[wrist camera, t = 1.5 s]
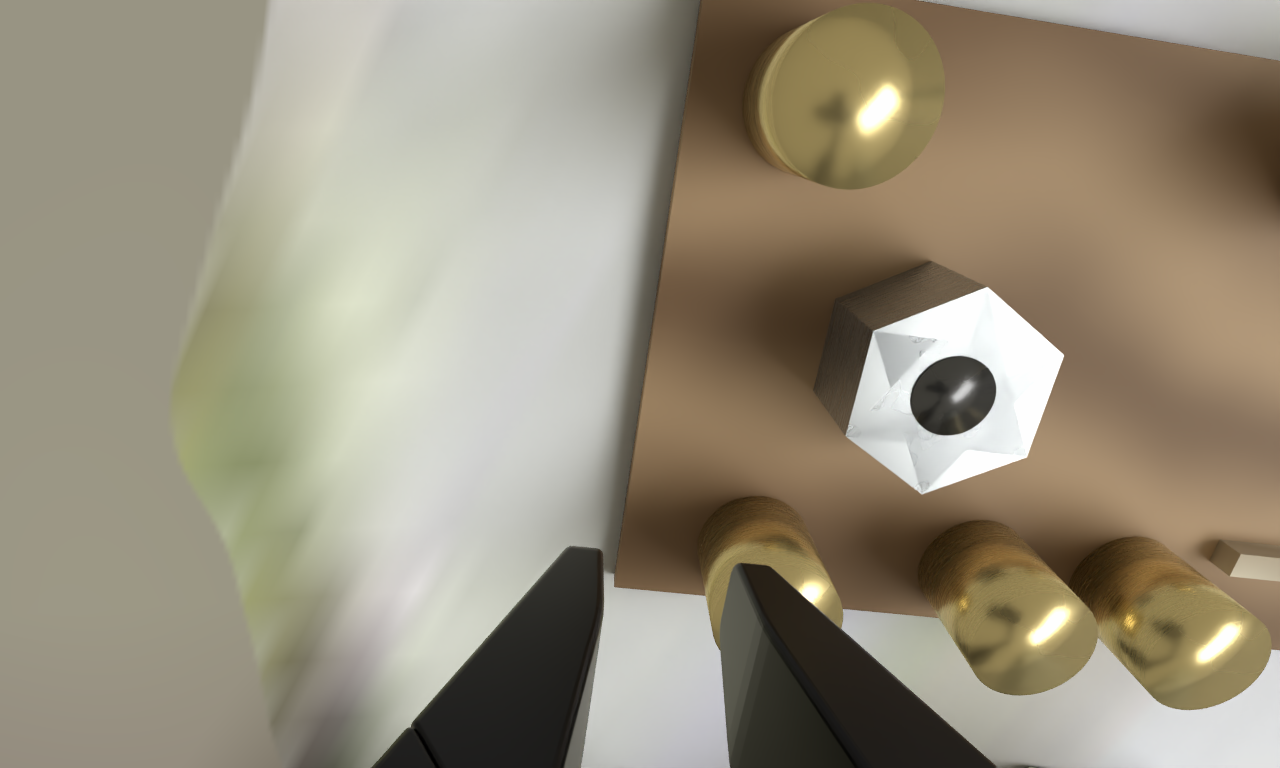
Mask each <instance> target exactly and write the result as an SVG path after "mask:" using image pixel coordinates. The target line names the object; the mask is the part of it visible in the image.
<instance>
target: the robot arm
mask: <svg viewBox="0 0 1280 768" xmlns="http://www.w3.org/2000/svg"><path fill="white" fill-rule="evenodd" d="M603 611H604V578H603V553H602V551H601V550H600V549H597V548H587V547H577V546H569V547H567V548H566V549H565V550H564V551H563V552H562V553H561V555H560V556H559V557H558V558H557V559H556V560H555V561H554V562H553V564H552V565H551V566H550V567H549V568H548V569H547V570H546V572H545V573H544V574H543V575H542V576H541V577H540V578H539V579H538V581H537V582H536V583H535V584H534V585H533V586H532V587H531V589H530V590H529V591H528V592H527V593H526V594H525V595H524V596H523V598H522V599H521V600H520V601H519V602H518V603H517V604H516V605H515V607H514V608H513V609H512V610H511V611H510V612H509V613H508V615H507V616H506V617H505V618H504V619H503V620H502V621H501V622H500V624H499V625H498V626H497V627H496V628H495V629H494V630H493V632H492V633H491V634H490V635H489V636H488V637H487V638H486V639H485V641H484V642H483V643H482V644H481V645H480V646H479V647H478V649H477V650H476V651H475V652H474V653H473V654H472V655H471V656H470V658H469V659H468V660H467V661H466V662H465V663H464V664H463V666H462V667H461V668H460V669H459V670H458V671H457V672H456V673H455V675H454V676H453V677H452V678H451V679H450V680H449V681H448V683H447V684H446V685H445V686H444V687H443V688H442V689H441V690H440V692H439V693H438V694H437V695H436V696H435V697H434V698H433V700H432V701H431V702H430V703H429V704H428V705H427V706H426V707H425V709H424V710H423V711H422V712H421V713H420V714H419V715H418V717H417V718H416V719H415V720H414V721H413V722H412V724H411V727H410V728H407V729H406V730H405V731H404V732H403V733H402V734H401V735H400V736H399V737H398V739H397V740H396V741H395V742H394V743H393V744H392V745H391V747H390V748H389V749H388V750H387V751H386V752H385V753H384V755H383V756H382V757H381V758H380V759H379V760H378V761H377V762H376V763H375V764H374V765H373V766H372V768H581V763H582V757H583V750H584V744H585V737H586V730H587V723H588V716H589V709H590V702H591V696H592V689H593V682H594V675H595V668H596V661H597V655H598V648H599V641H600V634H601V627H602V620H603ZM720 650H721V663H722V676H723V689H724V702H725V715H726V728H727V741H728V751H729V762H730V768H997V767H996V766H995V765H994V764H993V763H992V762H991V761H990V760H989V759H988V758H986V757H985V756H984V755H983V754H982V753H981V752H980V751H979V750H977V749H976V748H975V747H974V746H973V745H972V744H971V743H969V742H968V741H967V740H966V739H965V738H964V737H963V736H962V735H960V734H959V733H958V732H957V731H956V730H955V729H954V728H953V727H951V726H950V725H949V724H948V723H947V722H946V721H945V720H943V719H942V718H941V717H940V716H939V715H938V714H937V713H936V712H934V711H933V710H932V709H931V708H930V707H929V706H928V705H927V704H925V703H924V702H923V701H922V700H921V699H920V698H919V697H917V696H916V695H915V694H914V693H913V692H912V691H911V690H910V689H908V688H907V687H906V686H905V685H904V684H903V683H902V682H901V681H899V680H898V679H897V678H896V677H895V676H894V675H893V674H891V673H890V672H889V671H888V670H887V669H886V668H885V667H884V666H882V665H881V664H880V663H879V662H878V661H877V660H876V659H875V658H873V657H872V656H871V655H870V654H869V653H868V652H867V651H865V650H864V649H863V648H862V647H861V646H860V645H859V644H858V643H856V642H855V641H854V640H853V639H852V638H851V637H850V636H849V635H847V634H846V633H845V632H844V631H843V630H842V629H841V628H839V627H838V626H837V625H836V624H835V623H834V622H833V621H832V620H830V619H829V618H828V617H827V616H826V615H825V614H824V613H823V612H821V611H820V610H819V609H818V608H817V607H816V606H815V605H813V604H812V603H811V602H810V601H809V600H808V599H807V598H806V597H804V596H803V595H802V594H801V593H800V592H799V591H798V590H797V589H795V588H794V587H793V586H792V585H791V584H790V583H789V582H787V581H786V580H785V579H784V578H783V577H782V576H781V575H780V574H778V573H777V572H776V571H775V570H774V569H773V568H771V567H770V566H767V565H761V564H750V563H737V564H736V565H735V566H734V567H733V569H732V572H731V575H730V580H729V585H728V589H727V594H726V598H725V603H724V607H723V612H722V617H721V623H720Z"/></svg>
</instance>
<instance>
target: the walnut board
mask: <svg viewBox="0 0 1280 768" xmlns="http://www.w3.org/2000/svg"><path fill="white" fill-rule="evenodd" d="M857 3H878V4H884V5H888V6H892V7H894V8H897V9H899V10H902V11H903V12H905V13H907V14H908V15H910V16H912V17H913V18H914V19H915V20H916V21H918V22H919V23H920V24H921V25H922V26H923V27H924V28H925V30H926V31H927V32H928V33H929V35H930V36H931V38H932V39H933V41H934V43H935V45H936V47H937V49H938V51H939V54H940V57H941V60H942V64H943V69H944V75H945V96H944V104H943V108H942V113H941V116H940V119H939V122H938V125H937V127H936V129H935V132H934V134H933V136H932V138H931V139H930V141H929V143H928V144H927V146H926V147H925V149H924V150H923V151H922V152H921V154H920V155H919V156H918V157H917V158H916V159H915V160H914V161H913V162H912V164H911V165H909V166H908V167H907V168H906V169H905V170H903V171H902V172H901V173H899V174H898V175H896V176H894V177H893V178H891V179H889V180H887V181H885V182H883V183H881V184H878V185H875V186H872V187H868V188H863V189H854V190H844V189H836V188H831V187H827V186H824V185H821V184H818V183H815V182H812V181H809V180H807V179H804V178H801V177H798V176H795V175H792V174H789V173H786V172H784V171H781V170H779V169H777V168H775V167H773V166H772V165H771V164H769V163H768V162H767V161H765V160H764V159H763V158H762V157H761V156H760V155H759V153H758V152H757V151H756V149H755V148H754V147H753V145H752V143H751V141H750V139H749V137H748V134H747V132H746V129H745V125H744V120H743V113H742V101H743V92H744V88H745V84H746V81H747V78H748V75H749V73H750V71H751V69H752V67H753V65H754V63H755V62H756V60H757V59H758V57H759V56H760V54H761V53H762V52H763V51H764V50H765V49H766V47H768V46H769V45H770V44H771V43H772V42H773V41H774V40H776V39H777V38H779V37H780V36H781V35H783V34H785V33H787V32H789V31H791V30H793V29H795V28H797V27H799V26H801V25H803V24H806V23H808V22H810V21H812V20H814V19H816V18H818V17H820V16H822V15H825V14H827V13H829V12H831V11H833V10H835V9H838V8H841V7H844V6H847V5H852V4H857ZM930 261H933V262H935V263H937V264H939V265H942V266H944V267H946V268H948V269H950V270H952V271H955V272H957V273H959V274H961V275H963V276H965V277H967V278H970V279H972V280H974V281H976V282H978V283H980V284H983V285H985V286H987V287H988V288H989V289H990V290H992V291H993V292H994V293H995V294H996V295H997V296H998V297H999V298H1001V299H1002V300H1003V301H1004V302H1005V303H1006V304H1007V305H1008V306H1010V307H1011V308H1012V309H1013V310H1014V311H1015V312H1016V313H1017V314H1018V315H1020V316H1021V317H1022V318H1023V319H1024V320H1025V321H1026V322H1027V323H1029V324H1030V325H1031V326H1032V327H1033V328H1034V329H1035V330H1036V331H1037V332H1039V333H1040V334H1041V335H1042V336H1043V337H1044V338H1045V339H1046V340H1048V341H1049V342H1050V343H1051V344H1052V345H1053V346H1054V347H1055V348H1057V349H1058V350H1059V351H1060V352H1061V353H1062V354H1063V355H1064V357H1063V360H1062V362H1061V365H1060V368H1059V370H1058V373H1057V376H1056V379H1055V381H1054V384H1053V387H1052V390H1051V392H1050V395H1049V398H1048V400H1047V403H1046V406H1045V409H1044V411H1043V414H1042V417H1041V419H1040V422H1039V425H1038V428H1037V430H1036V433H1035V436H1034V439H1033V441H1032V444H1031V447H1030V449H1029V452H1028V455H1027V457H1025V458H1023V459H1020V460H1017V461H1014V462H1011V463H1009V464H1006V465H1003V466H1000V467H998V468H995V469H992V470H989V471H986V472H984V473H981V474H978V475H975V476H972V477H970V478H967V479H964V480H961V481H958V482H956V483H953V484H950V485H947V486H944V487H942V488H939V489H936V490H933V491H930V492H928V493H925V494H921V493H919V492H918V491H917V490H916V489H914V488H913V487H912V486H910V485H909V484H908V483H906V482H905V481H904V480H902V479H901V478H900V477H898V476H897V475H896V474H894V473H893V472H892V471H891V470H889V469H888V468H887V467H885V466H884V465H883V464H881V463H880V462H879V461H877V460H876V459H875V458H873V457H872V456H871V455H870V454H868V453H867V452H866V451H864V450H863V449H862V448H860V447H859V446H858V445H856V444H855V443H854V442H852V441H851V440H850V439H849V438H847V437H846V436H845V435H844V433H843V432H842V431H841V429H840V428H839V426H838V425H837V424H836V422H835V421H834V419H833V418H832V417H831V415H830V414H829V412H828V411H827V410H826V408H825V407H824V405H823V404H822V403H821V401H820V400H819V398H818V397H817V396H816V394H815V393H814V391H813V389H814V385H815V381H816V376H817V372H818V368H819V364H820V360H821V356H822V352H823V347H824V343H825V339H826V335H827V331H828V327H829V322H830V318H831V314H832V310H833V306H834V302H835V299H836V298H839V297H841V296H844V295H846V294H849V293H851V292H854V291H856V290H859V289H861V288H864V287H867V286H869V285H872V284H874V283H877V282H879V281H882V280H884V279H887V278H889V277H892V276H895V275H897V274H900V273H902V272H905V271H907V270H910V269H912V268H915V267H917V266H920V265H923V264H925V263H928V262H930ZM749 496H765V497H771V498H774V499H778V500H780V501H782V502H785V503H786V504H788V505H790V506H791V507H792V508H793V509H795V510H796V511H797V512H798V514H799V515H800V516H801V517H802V519H803V521H804V523H805V525H806V527H807V529H808V531H809V533H810V536H811V538H812V540H813V542H814V544H815V546H816V549H817V551H818V553H819V555H820V557H821V559H822V561H823V564H824V566H825V568H826V570H827V572H828V574H829V577H830V579H831V581H832V583H833V585H834V587H835V590H836V592H837V594H838V596H839V598H840V600H841V604H842V609H851V610H861V611H872V612H883V613H893V614H904V615H914V616H925V617H935V618H939V617H938V616H937V614H936V612H935V611H934V609H933V608H932V606H931V605H930V603H929V602H928V600H927V598H926V597H925V595H924V594H923V592H922V591H921V588H920V586H919V582H918V567H919V563H920V560H921V558H922V556H923V554H924V552H925V550H926V549H927V548H928V546H929V545H930V544H931V543H932V542H933V541H934V539H936V538H937V537H938V536H939V535H940V534H942V533H943V532H945V531H946V530H948V529H950V528H952V527H954V526H956V525H959V524H962V523H965V522H969V521H975V520H990V521H995V522H999V523H1002V524H1004V525H1006V526H1008V527H1010V528H1011V529H1013V530H1014V531H1015V532H1016V533H1017V534H1018V535H1019V536H1020V537H1021V538H1022V539H1023V540H1024V541H1025V542H1026V543H1027V544H1028V545H1029V546H1030V547H1031V548H1032V549H1033V551H1034V552H1035V553H1036V554H1037V555H1038V556H1039V557H1040V558H1041V559H1042V560H1043V561H1044V562H1045V563H1046V564H1047V565H1048V566H1049V567H1050V568H1051V569H1052V570H1053V571H1054V572H1055V573H1056V575H1057V576H1058V577H1059V578H1060V579H1061V580H1062V581H1063V582H1064V583H1065V584H1066V585H1067V586H1068V587H1069V583H1070V580H1071V577H1072V575H1073V573H1074V571H1075V570H1076V568H1077V567H1078V565H1079V564H1080V563H1081V562H1082V561H1083V560H1084V559H1085V558H1086V557H1087V556H1088V555H1089V554H1090V553H1091V552H1093V551H1094V550H1096V549H1097V548H1099V547H1100V546H1102V545H1104V544H1106V543H1108V542H1111V541H1114V540H1117V539H1120V538H1125V537H1135V536H1136V537H1146V538H1151V539H1154V540H1156V541H1158V542H1160V543H1162V544H1163V545H1165V546H1166V547H1167V548H1169V549H1170V550H1171V551H1172V552H1174V553H1175V554H1176V555H1177V556H1179V557H1180V558H1181V559H1183V560H1184V561H1185V562H1186V563H1188V564H1189V565H1190V566H1191V567H1193V568H1194V569H1195V570H1197V571H1198V572H1199V573H1200V574H1202V575H1203V576H1204V577H1205V578H1207V579H1208V580H1209V581H1211V582H1212V583H1213V584H1214V585H1216V586H1217V587H1218V588H1219V589H1221V590H1222V591H1223V592H1225V593H1226V594H1227V595H1228V596H1230V597H1231V598H1232V599H1233V600H1235V601H1236V602H1237V603H1239V604H1240V605H1241V606H1242V607H1244V608H1245V609H1246V610H1247V611H1249V612H1250V613H1251V614H1253V615H1254V616H1255V617H1256V618H1258V619H1259V620H1260V621H1261V622H1262V623H1263V624H1264V625H1265V626H1266V628H1267V629H1268V631H1269V633H1270V636H1271V642H1272V648H1271V649H1273V650H1280V61H1277V60H1271V59H1265V58H1259V57H1253V56H1247V55H1241V54H1235V53H1229V52H1223V51H1217V50H1211V49H1205V48H1199V47H1193V46H1187V45H1181V44H1175V43H1169V42H1163V41H1157V40H1151V39H1145V38H1139V37H1133V36H1127V35H1121V34H1115V33H1109V32H1103V31H1097V30H1091V29H1085V28H1079V27H1073V26H1067V25H1061V24H1055V23H1049V22H1043V21H1037V20H1031V19H1025V18H1019V17H1013V16H1007V15H1001V14H995V13H989V12H983V11H977V10H971V9H965V8H959V7H953V6H947V5H941V4H935V3H929V2H924V1H918V0H700V7H699V14H698V20H697V27H696V34H695V40H694V47H693V54H692V60H691V67H690V74H689V80H688V87H687V94H686V101H685V107H684V114H683V121H682V127H681V134H680V141H679V147H678V154H677V161H676V167H675V174H674V181H673V187H672V194H671V201H670V207H669V214H668V221H667V227H666V234H665V241H664V247H663V254H662V261H661V267H660V274H659V281H658V287H657V294H656V301H655V307H654V314H653V321H652V327H651V334H650V341H649V347H648V354H647V361H646V367H645V374H644V381H643V387H642V394H641V401H640V407H639V414H638V421H637V427H636V434H635V441H634V447H633V454H632V461H631V467H630V474H629V481H628V487H627V494H626V501H625V507H624V514H623V521H622V527H621V534H620V541H619V547H618V554H617V561H616V568H615V574H614V587H619V588H630V589H640V590H651V591H661V592H672V593H682V594H693V595H703V596H706V594H705V589H704V584H703V578H702V573H701V568H700V562H699V557H698V551H697V544H698V538H699V534H700V532H701V529H702V527H703V525H704V524H705V522H706V521H707V519H708V518H709V517H710V516H711V515H712V514H713V513H714V512H715V511H716V510H718V509H719V508H720V507H722V506H723V505H725V504H727V503H729V502H731V501H734V500H736V499H740V498H744V497H749Z"/></svg>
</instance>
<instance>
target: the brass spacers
mask: <svg viewBox="0 0 1280 768" xmlns="http://www.w3.org/2000/svg"><path fill="white" fill-rule="evenodd" d="M944 96H945V75H944V69H943V64H942V60H941V57H940V54H939V51H938V49H937V47H936V45H935V43H934V41H933V39H932V38H931V36H930V35H929V33H928V32H927V31H926V30H925V28H924V27H923V26H922V25H921V24H920V23H919V22H918V21H916V20H915V19H914V18H913V17H912V16H910V15H908V14H907V13H905V12H903V11H902V10H899V9H897V8H894V7H892V6H888V5H884V4H878V3H857V4H852V5H847V6H844V7H841V8H838V9H835V10H833V11H831V12H829V13H827V14H825V15H822V16H820V17H818V18H816V19H814V20H812V21H810V22H808V23H806V24H803V25H801V26H799V27H797V28H795V29H793V30H791V31H789V32H787V33H785V34H783V35H781V36H780V37H779V38H777V39H776V40H774V41H773V42H772V43H771V44H770V45H769V46H768V47H766V49H765V50H764V51H763V52H762V53H761V54H760V56H759V57H758V59H757V60H756V62H755V63H754V65H753V67H752V69H751V71H750V73H749V75H748V78H747V81H746V84H745V88H744V92H743V101H742V113H743V120H744V125H745V129H746V132H747V134H748V137H749V139H750V141H751V143H752V145H753V147H754V148H755V149H756V151H757V152H758V153H759V155H760V156H761V157H762V158H763V159H764V160H765V161H767V162H768V163H769V164H771V165H772V166H773V167H775V168H777V169H779V170H781V171H784V172H786V173H789V174H792V175H795V176H798V177H801V178H804V179H807V180H809V181H812V182H815V183H818V184H821V185H824V186H827V187H831V188H836V189H844V190H854V189H863V188H868V187H872V186H875V185H878V184H881V183H883V182H885V181H887V180H889V179H891V178H893V177H894V176H896V175H898V174H899V173H901V172H902V171H903V170H905V169H906V168H907V167H908V166H909V165H911V164H912V162H913V161H914V160H915V159H916V158H917V157H918V156H919V155H920V154H921V152H922V151H923V150H924V149H925V147H926V146H927V144H928V143H929V141H930V139H931V138H932V136H933V134H934V132H935V129H936V127H937V125H938V122H939V119H940V116H941V113H942V108H943V104H944ZM697 551H698V557H699V562H700V568H701V573H702V578H703V584H704V589H705V594H706V600H707V605H708V610H709V615H710V621H711V626H712V631H713V637H714V639H715V642H716V644H717V646H718V648H719V650H720V623H721V617H722V612H723V607H724V603H725V598H726V594H727V589H728V585H729V580H730V575H731V572H732V569H733V567H734V566H735V565H736V564H737V563H750V564H761V565H767V566H770V567H771V568H773V569H774V570H775V571H776V572H777V573H778V574H780V575H781V576H782V577H783V578H784V579H785V580H786V581H787V582H789V583H790V584H791V585H792V586H793V587H794V588H795V589H797V590H798V591H799V592H800V593H801V594H802V595H803V596H804V597H806V598H807V599H808V600H809V601H810V602H811V603H812V604H813V605H815V606H816V607H817V608H818V609H819V610H820V611H821V612H823V613H824V614H825V615H826V616H827V617H828V618H829V619H830V620H832V621H833V622H834V623H835V624H836V625H837V626H838V627H839V628H841V626H842V622H843V609H842V604H841V600H840V598H839V596H838V594H837V592H836V590H835V587H834V585H833V583H832V581H831V579H830V577H829V574H828V572H827V570H826V568H825V566H824V564H823V561H822V559H821V557H820V555H819V553H818V551H817V549H816V546H815V544H814V542H813V540H812V538H811V536H810V533H809V531H808V529H807V527H806V525H805V523H804V521H803V519H802V517H801V516H800V515H799V514H798V512H797V511H796V510H795V509H793V508H792V507H791V506H790V505H788V504H786V503H785V502H782V501H780V500H778V499H774V498H771V497H765V496H749V497H744V498H740V499H736V500H734V501H731V502H729V503H727V504H725V505H723V506H722V507H720V508H719V509H718V510H716V511H715V512H714V513H713V514H712V515H711V516H710V517H709V518H708V519H707V521H706V522H705V524H704V525H703V527H702V529H701V532H700V534H699V538H698V544H697ZM918 582H919V586H920V588H921V591H922V592H923V594H924V595H925V597H926V598H927V600H928V602H929V603H930V605H931V606H932V608H933V609H934V611H935V612H936V614H937V616H938V617H939V619H940V620H941V622H942V623H943V625H944V626H945V628H946V630H947V631H948V633H949V634H950V636H951V637H952V639H953V640H954V642H955V644H956V645H957V647H958V648H959V650H960V651H961V653H962V654H963V656H964V658H965V659H966V661H967V662H968V664H969V665H970V667H971V668H972V670H973V672H974V673H975V675H976V676H977V678H978V679H979V680H980V681H981V682H982V683H983V684H984V685H986V686H987V687H989V688H991V689H992V690H995V691H997V692H1000V693H1004V694H1009V695H1031V694H1037V693H1041V692H1044V691H1047V690H1050V689H1053V688H1055V687H1057V686H1059V685H1061V684H1063V683H1064V682H1066V681H1068V680H1069V679H1070V678H1072V677H1073V676H1074V675H1076V674H1077V673H1078V672H1079V671H1080V670H1081V669H1082V668H1083V667H1084V666H1085V664H1086V663H1087V662H1088V660H1089V659H1090V657H1091V655H1092V654H1093V652H1094V649H1095V646H1096V643H1097V639H1098V638H1099V639H1100V640H1101V641H1102V642H1103V643H1104V645H1105V646H1106V647H1107V648H1108V649H1109V650H1110V651H1111V652H1112V653H1113V654H1114V655H1115V656H1116V658H1117V659H1118V660H1119V661H1120V662H1121V663H1122V664H1123V665H1124V666H1125V667H1126V668H1127V669H1128V671H1129V672H1130V673H1131V674H1132V675H1133V676H1134V677H1135V678H1136V679H1137V680H1138V681H1139V682H1140V684H1141V685H1142V686H1143V687H1144V688H1145V689H1146V690H1147V691H1148V692H1149V693H1150V694H1151V695H1152V697H1153V698H1155V699H1156V700H1157V701H1158V702H1160V703H1161V704H1163V705H1165V706H1168V707H1171V708H1175V709H1181V710H1197V709H1203V708H1208V707H1212V706H1215V705H1218V704H1221V703H1223V702H1225V701H1228V700H1230V699H1232V698H1233V697H1235V696H1237V695H1238V694H1240V693H1241V692H1243V691H1244V690H1245V689H1247V688H1248V687H1249V686H1250V685H1251V684H1252V683H1253V682H1254V681H1255V680H1256V679H1257V678H1258V677H1259V675H1260V674H1261V673H1262V671H1263V670H1264V668H1265V667H1266V665H1267V662H1268V660H1269V657H1270V654H1271V648H1272V642H1271V636H1270V633H1269V631H1268V629H1267V628H1266V626H1265V625H1264V624H1263V623H1262V622H1261V621H1260V620H1259V619H1258V618H1256V617H1255V616H1254V615H1253V614H1251V613H1250V612H1249V611H1247V610H1246V609H1245V608H1244V607H1242V606H1241V605H1240V604H1239V603H1237V602H1236V601H1235V600H1233V599H1232V598H1231V597H1230V596H1228V595H1227V594H1226V593H1225V592H1223V591H1222V590H1221V589H1219V588H1218V587H1217V586H1216V585H1214V584H1213V583H1212V582H1211V581H1209V580H1208V579H1207V578H1205V577H1204V576H1203V575H1202V574H1200V573H1199V572H1198V571H1197V570H1195V569H1194V568H1193V567H1191V566H1190V565H1189V564H1188V563H1186V562H1185V561H1184V560H1183V559H1181V558H1180V557H1179V556H1177V555H1176V554H1175V553H1174V552H1172V551H1171V550H1170V549H1169V548H1167V547H1166V546H1165V545H1163V544H1162V543H1160V542H1158V541H1156V540H1154V539H1151V538H1146V537H1136V536H1135V537H1125V538H1120V539H1117V540H1114V541H1111V542H1108V543H1106V544H1104V545H1102V546H1100V547H1099V548H1097V549H1096V550H1094V551H1093V552H1091V553H1090V554H1089V555H1088V556H1087V557H1086V558H1085V559H1084V560H1083V561H1082V562H1081V563H1080V564H1079V565H1078V567H1077V568H1076V570H1075V571H1074V573H1073V575H1072V577H1071V580H1070V583H1069V587H1068V586H1067V585H1066V584H1065V583H1064V582H1063V581H1062V580H1061V579H1060V578H1059V577H1058V576H1057V575H1056V573H1055V572H1054V571H1053V570H1052V569H1051V568H1050V567H1049V566H1048V565H1047V564H1046V563H1045V562H1044V561H1043V560H1042V559H1041V558H1040V557H1039V556H1038V555H1037V554H1036V553H1035V552H1034V551H1033V549H1032V548H1031V547H1030V546H1029V545H1028V544H1027V543H1026V542H1025V541H1024V540H1023V539H1022V538H1021V537H1020V536H1019V535H1018V534H1017V533H1016V532H1015V531H1014V530H1013V529H1011V528H1010V527H1008V526H1006V525H1004V524H1002V523H999V522H995V521H990V520H975V521H969V522H965V523H962V524H959V525H956V526H954V527H952V528H950V529H948V530H946V531H945V532H943V533H942V534H940V535H939V536H938V537H937V538H936V539H934V541H933V542H932V543H931V544H930V545H929V546H928V548H927V549H926V550H925V552H924V554H923V556H922V558H921V560H920V563H919V567H918ZM720 651H721V650H720Z"/></svg>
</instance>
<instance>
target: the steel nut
mask: <svg viewBox="0 0 1280 768" xmlns="http://www.w3.org/2000/svg"><path fill="white" fill-rule="evenodd" d="M1063 357H1064V355H1063V354H1062V353H1061V352H1060V351H1059V350H1058V349H1057V348H1055V347H1054V346H1053V345H1052V344H1051V343H1050V342H1049V341H1048V340H1046V339H1045V338H1044V337H1043V336H1042V335H1041V334H1040V333H1039V332H1037V331H1036V330H1035V329H1034V328H1033V327H1032V326H1031V325H1030V324H1029V323H1027V322H1026V321H1025V320H1024V319H1023V318H1022V317H1021V316H1020V315H1018V314H1017V313H1016V312H1015V311H1014V310H1013V309H1012V308H1011V307H1010V306H1008V305H1007V304H1006V303H1005V302H1004V301H1003V300H1002V299H1001V298H999V297H998V296H997V295H996V294H995V293H994V292H993V291H992V290H990V289H989V288H988V287H987V286H985V285H983V284H980V283H978V282H976V281H974V280H972V279H970V278H967V277H965V276H963V275H961V274H959V273H957V272H955V271H952V270H950V269H948V268H946V267H944V266H942V265H939V264H937V263H935V262H933V261H930V262H928V263H925V264H923V265H920V266H917V267H915V268H912V269H910V270H907V271H905V272H902V273H900V274H897V275H895V276H892V277H889V278H887V279H884V280H882V281H879V282H877V283H874V284H872V285H869V286H867V287H864V288H861V289H859V290H856V291H854V292H851V293H849V294H846V295H844V296H841V297H839V298H836V299H835V302H834V306H833V310H832V314H831V318H830V322H829V327H828V331H827V335H826V339H825V343H824V347H823V352H822V356H821V360H820V364H819V368H818V372H817V376H816V381H815V385H814V389H813V391H814V393H815V394H816V396H817V397H818V398H819V400H820V401H821V403H822V404H823V405H824V407H825V408H826V410H827V411H828V412H829V414H830V415H831V417H832V418H833V419H834V421H835V422H836V424H837V425H838V426H839V428H840V429H841V431H842V432H843V433H844V435H845V436H846V437H847V438H849V439H850V440H851V441H852V442H854V443H855V444H856V445H858V446H859V447H860V448H862V449H863V450H864V451H866V452H867V453H868V454H870V455H871V456H872V457H873V458H875V459H876V460H877V461H879V462H880V463H881V464H883V465H884V466H885V467H887V468H888V469H889V470H891V471H892V472H893V473H894V474H896V475H897V476H898V477H900V478H901V479H902V480H904V481H905V482H906V483H908V484H909V485H910V486H912V487H913V488H914V489H916V490H917V491H918V492H919V493H921V494H925V493H928V492H930V491H933V490H936V489H939V488H942V487H944V486H947V485H950V484H953V483H956V482H958V481H961V480H964V479H967V478H970V477H972V476H975V475H978V474H981V473H984V472H986V471H989V470H992V469H995V468H998V467H1000V466H1003V465H1006V464H1009V463H1011V462H1014V461H1017V460H1020V459H1023V458H1025V457H1027V455H1028V452H1029V449H1030V447H1031V444H1032V441H1033V439H1034V436H1035V433H1036V430H1037V428H1038V425H1039V422H1040V419H1041V417H1042V414H1043V411H1044V409H1045V406H1046V403H1047V400H1048V398H1049V395H1050V392H1051V390H1052V387H1053V384H1054V381H1055V379H1056V376H1057V373H1058V370H1059V368H1060V365H1061V362H1062V360H1063Z"/></svg>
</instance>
